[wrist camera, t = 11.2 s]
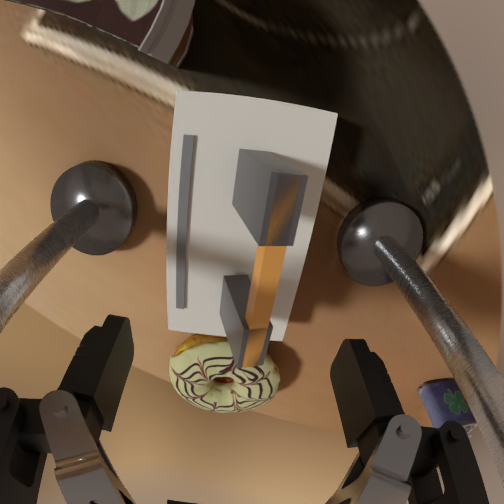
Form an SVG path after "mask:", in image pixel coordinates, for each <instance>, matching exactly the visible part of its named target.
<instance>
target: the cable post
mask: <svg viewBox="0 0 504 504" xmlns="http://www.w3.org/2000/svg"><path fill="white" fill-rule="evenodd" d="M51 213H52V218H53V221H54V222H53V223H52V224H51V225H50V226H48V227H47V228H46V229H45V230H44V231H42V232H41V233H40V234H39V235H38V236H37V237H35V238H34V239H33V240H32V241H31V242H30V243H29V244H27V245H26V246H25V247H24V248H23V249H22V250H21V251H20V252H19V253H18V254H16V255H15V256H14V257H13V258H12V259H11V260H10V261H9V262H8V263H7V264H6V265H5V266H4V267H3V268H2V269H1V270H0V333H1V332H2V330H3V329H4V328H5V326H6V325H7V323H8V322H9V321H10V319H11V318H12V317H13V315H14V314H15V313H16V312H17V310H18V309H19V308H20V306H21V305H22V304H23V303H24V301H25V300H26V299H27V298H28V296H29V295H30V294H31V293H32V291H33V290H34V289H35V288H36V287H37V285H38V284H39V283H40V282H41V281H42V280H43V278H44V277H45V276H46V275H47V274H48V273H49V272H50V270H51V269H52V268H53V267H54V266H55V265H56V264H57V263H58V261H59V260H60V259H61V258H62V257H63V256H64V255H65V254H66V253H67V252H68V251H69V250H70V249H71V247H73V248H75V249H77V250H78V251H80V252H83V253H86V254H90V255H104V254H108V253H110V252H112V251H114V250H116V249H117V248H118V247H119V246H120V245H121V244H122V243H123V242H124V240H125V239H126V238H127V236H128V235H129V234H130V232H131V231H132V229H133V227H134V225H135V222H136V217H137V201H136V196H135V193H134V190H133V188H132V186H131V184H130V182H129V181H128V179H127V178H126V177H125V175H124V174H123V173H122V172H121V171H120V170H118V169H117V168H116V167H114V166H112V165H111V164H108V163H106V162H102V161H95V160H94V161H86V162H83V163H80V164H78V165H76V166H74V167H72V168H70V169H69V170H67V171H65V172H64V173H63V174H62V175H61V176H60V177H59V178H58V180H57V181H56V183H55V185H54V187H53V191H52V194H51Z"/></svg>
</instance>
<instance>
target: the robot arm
mask: <svg viewBox="0 0 504 504" xmlns="http://www.w3.org/2000/svg"><path fill="white" fill-rule="evenodd" d="M133 356H134V344H133V338H132V332H131V326H130V320H129V318H127V317H121V316H115V315H108V316H107V318H106V320H105V322H104V324H103V326H102V327H99V326H94V327H93V328H92V329H90V330H89V331H88V332H87V333H86V334H85V335H84V337H83V339H82V341H81V343H80V346H79V347H78V349H77V351H76V353H75V356H74V357H73V359H72V361H71V363H70V365H69V367H68V369H67V371H66V373H65V375H64V377H63V380H62V382H61V384H60V386H59V388H58V389H57V390H55V391H52V392H49V393H48V394H46V395H45V396H44V397H43V398H42V399H26V398H18V396H17V395H16V393H15V392H14V391H13V390H11V389H9V388H0V504H36V503H37V498H38V492H39V488H40V483H41V478H42V474H43V469H44V465H45V461H46V457H47V453H52V454H53V457H54V460H55V463H56V468H55V469H54V470H55V471H54V472H55V476H56V480H57V482H58V485H59V487H60V489H61V492H62V494H63V496H64V498H65V500H66V503H67V504H136V503H135V502H134V500H133V499H132V497H131V496H130V494H129V492H128V491H127V489H126V488H125V487H124V485H123V484H122V482H121V481H120V479H119V477H118V475H117V474H116V471H115V470H114V468H113V466H112V464H111V462H110V460H109V458H108V456H107V454H106V452H105V450H104V448H103V446H102V444H101V442H100V440H99V438H100V434H101V430H106V431H110V432H111V430H112V426H113V423H114V420H115V416H116V413H117V409H118V406H119V402H120V399H121V396H122V392H123V389H124V386H125V383H126V380H127V377H128V373H129V370H130V367H131V364H132V361H133ZM330 377H331V382H332V386H333V390H334V394H335V398H336V402H337V406H338V410H339V414H340V418H341V422H342V426H343V430H344V434H345V439H346V443H347V447H348V448H351V447H358V448H359V453H358V454H357V455H356V457H355V459H354V461H353V463H352V465H351V466H350V468H349V470H348V472H347V474H346V475H345V477H344V479H343V481H342V482H341V484H340V486H339V487H338V489H337V490H336V492H335V493H334V494H333V496H332V497H331V498H330V499H329V500H328V501H327V502H326V503H325V504H406V502H407V499H408V501H409V504H489V501H488V498H487V494H486V490H485V487H484V483H483V480H482V476H481V473H480V470H479V467H478V464H477V461H476V458H475V455H474V452H473V450H472V447H471V445H470V441H469V439H468V436H467V433H466V431H465V429H464V427H463V426H462V425H461V424H459V423H458V422H456V421H447V422H445V423H444V424H443V425H442V426H441V427H439V428H431V427H423V426H420V425H419V423H418V422H417V421H416V420H415V419H414V418H413V417H411V416H409V415H405V413H404V411H403V409H402V406H401V404H400V401H399V399H398V396H397V394H396V391H395V389H394V386H393V384H392V382H391V379H390V377H389V374H387V369H386V367H385V365H384V362H383V361H382V360H381V359H380V357H379V356H378V355H377V354H376V353H375V352H370V350H369V348H368V345H367V343H366V341H365V340H364V339H345V340H344V341H343V342H342V344H341V346H340V349H339V351H338V353H337V355H336V357H335V359H334V361H333V363H332V366H331V370H330ZM437 467H439V469H440V472H441V476H442V480H443V483H444V488H445V491H444V494H443V492H442V488H441V484H440V480H439V476H438V473H437V469H436V468H437ZM167 504H194V503H187V502H179V501H173V500H167ZM195 504H196V503H195Z"/></svg>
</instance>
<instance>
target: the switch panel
mask: <svg viewBox="0 0 504 504" xmlns="http://www.w3.org/2000/svg"><path fill="white" fill-rule="evenodd" d="M337 116H338V114H337V113H333V112H329V111H325V110H320V109H316V108H311V107H306V106H301V105H296V104H291V103H286V102H280V101H274V100H267V99H261V98H254V97H246V96H238V95H229V94H219V93H208V92H193V91H177V93H176V101H175V110H174V120H173V130H172V141H171V153H170V167H169V184H168V206H167V311H168V330H174V331H182V332H189V333H197V334H206V335H215V336H224V337H227V336H226V333H225V330H224V327H223V323H222V320H221V317H220V314H219V313H220V303H221V294H222V284H223V276H224V275H248V277H249V279H250V281H251V280H252V275H253V269H254V263H255V257H256V251H257V246H258V244H257V243H256V241H255V240H254V238H253V236H252V235H251V233H250V232H249V230H248V228H247V227H246V225H245V224H244V222H243V221H242V219H241V217H240V216H239V214H238V213H237V211H236V210H235V208H234V206H233V205H232V200H233V192H234V185H235V177H236V170H237V162H238V155H239V149H249V150H260V151H268V152H270V153H271V154H273V155H275V156H277V157H278V158H280V159H282V160H283V161H285V162H287V163H288V164H290V165H292V166H293V167H295V168H297V169H298V170H300V171H302V172H303V173H305V174H307V175H308V180H307V185H306V190H305V195H304V199H303V204H302V209H301V213H300V218H299V222H298V227H297V231H296V236H295V240H294V244H293V246H287V248H286V253H285V257H284V261H283V266H282V270H281V275H280V279H279V283H278V288H277V292H276V296H275V300H274V305H273V309H272V313H271V317H270V321H271V323H272V325H273V330H272V334H271V338H270V340H272V341H282V340H283V337H284V333H285V330H286V327H287V323H288V320H289V316H290V313H291V309H292V306H293V302H294V299H295V295H296V292H297V288H298V284H299V281H300V277H301V273H302V270H303V266H304V262H305V258H306V254H307V250H308V246H309V243H310V239H311V235H312V231H313V226H314V222H315V218H316V214H317V210H318V206H319V201H320V197H321V193H322V188H323V184H324V179H325V175H326V170H327V166H328V161H329V156H330V151H331V146H332V142H333V137H334V131H335V126H336V121H337Z"/></svg>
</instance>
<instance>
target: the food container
mask: <svg viewBox="0 0 504 504" xmlns="http://www.w3.org/2000/svg"><path fill="white" fill-rule="evenodd" d="M6 1H11V2H15V3H19V4H23V5H27V6H31V7H35V8H38V9H42V10H45V11H48V12H51V13H55V14H58V15H61V16H64V17H67V18H70V19H72V20H75V21H78V22H81V23H83V24H86V25H88V26H91V27H93V28H96V29H98V30H101V31H103V32H105V34H106V33H108V34H110V35H111V36H115V37H117V38H119V39H121V40H123V41H126V42H127V43H130V44H132V45H134V46H136V47H138V48H139V49H138V50H139V51H141V52H143V53H146V54H148V55H150V56H152V57H154V58H156V59H158V60H160V61H162V62H164V63H166V64H170V65H172V66H175V67H177V68H179V67H180V66H181V64H182V62H183V61H184V59H185V57H186V56H187V54H188V51H189V48H190V44H191V41H192V37H193V34H194V28H193V13H192V10H193V7H194V4H195V0H6Z"/></svg>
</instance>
